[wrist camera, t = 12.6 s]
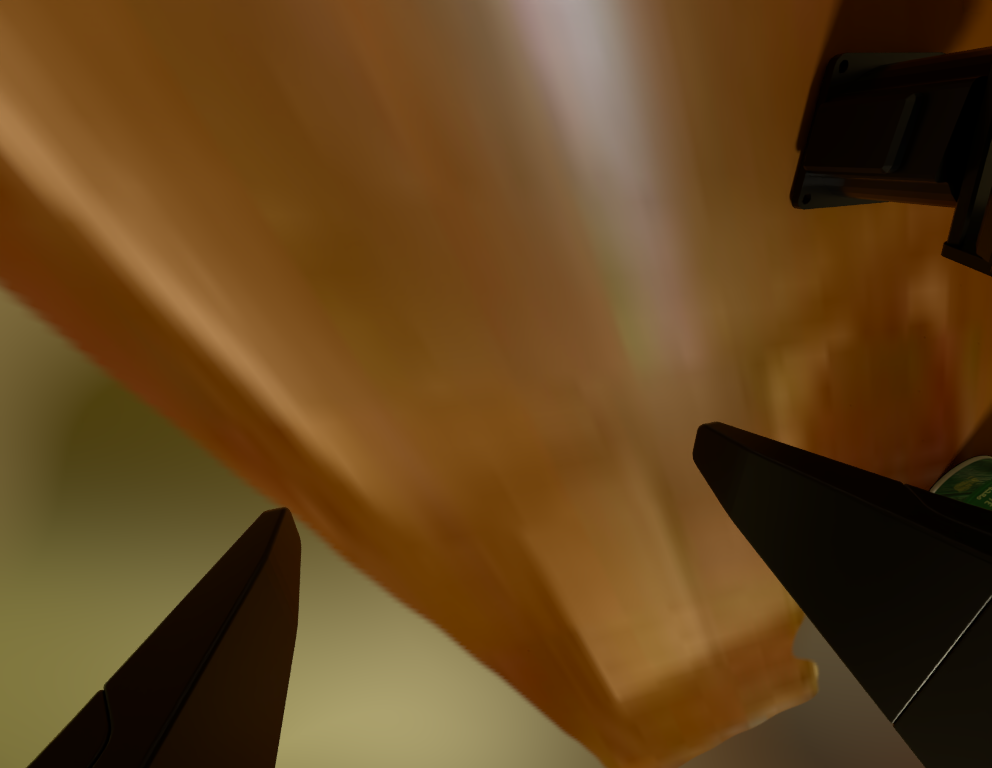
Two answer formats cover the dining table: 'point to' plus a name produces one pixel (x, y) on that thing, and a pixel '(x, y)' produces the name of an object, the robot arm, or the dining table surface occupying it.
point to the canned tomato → (968, 482)
